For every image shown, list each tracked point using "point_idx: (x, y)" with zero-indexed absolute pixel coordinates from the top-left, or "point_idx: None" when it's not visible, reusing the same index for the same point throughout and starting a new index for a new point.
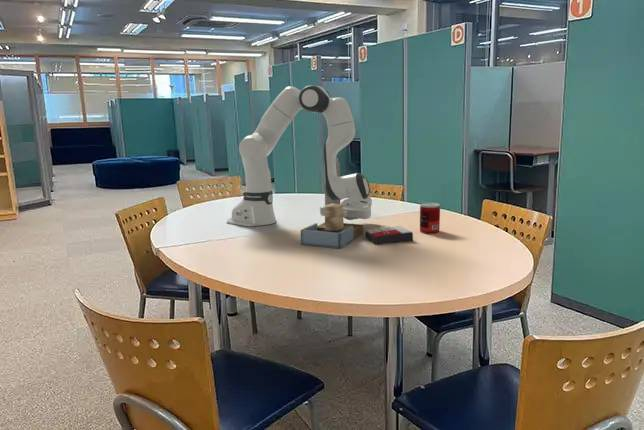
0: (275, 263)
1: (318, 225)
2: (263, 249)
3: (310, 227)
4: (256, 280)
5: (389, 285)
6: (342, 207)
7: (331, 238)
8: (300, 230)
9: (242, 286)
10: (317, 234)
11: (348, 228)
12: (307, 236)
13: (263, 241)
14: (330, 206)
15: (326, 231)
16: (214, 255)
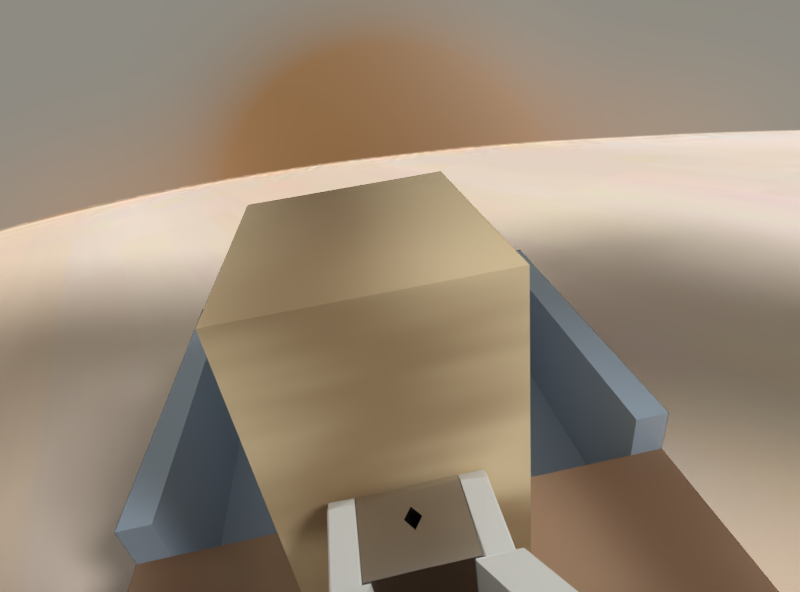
0: None
1: (724, 529)
2: (590, 237)
3: (550, 321)
4: (355, 173)
5: (6, 261)
6: (227, 370)
7: None
8: (520, 252)
9: (358, 160)
10: None
11: (165, 432)
12: None
13: (764, 279)
14: (364, 195)
15: None
16: (641, 168)
